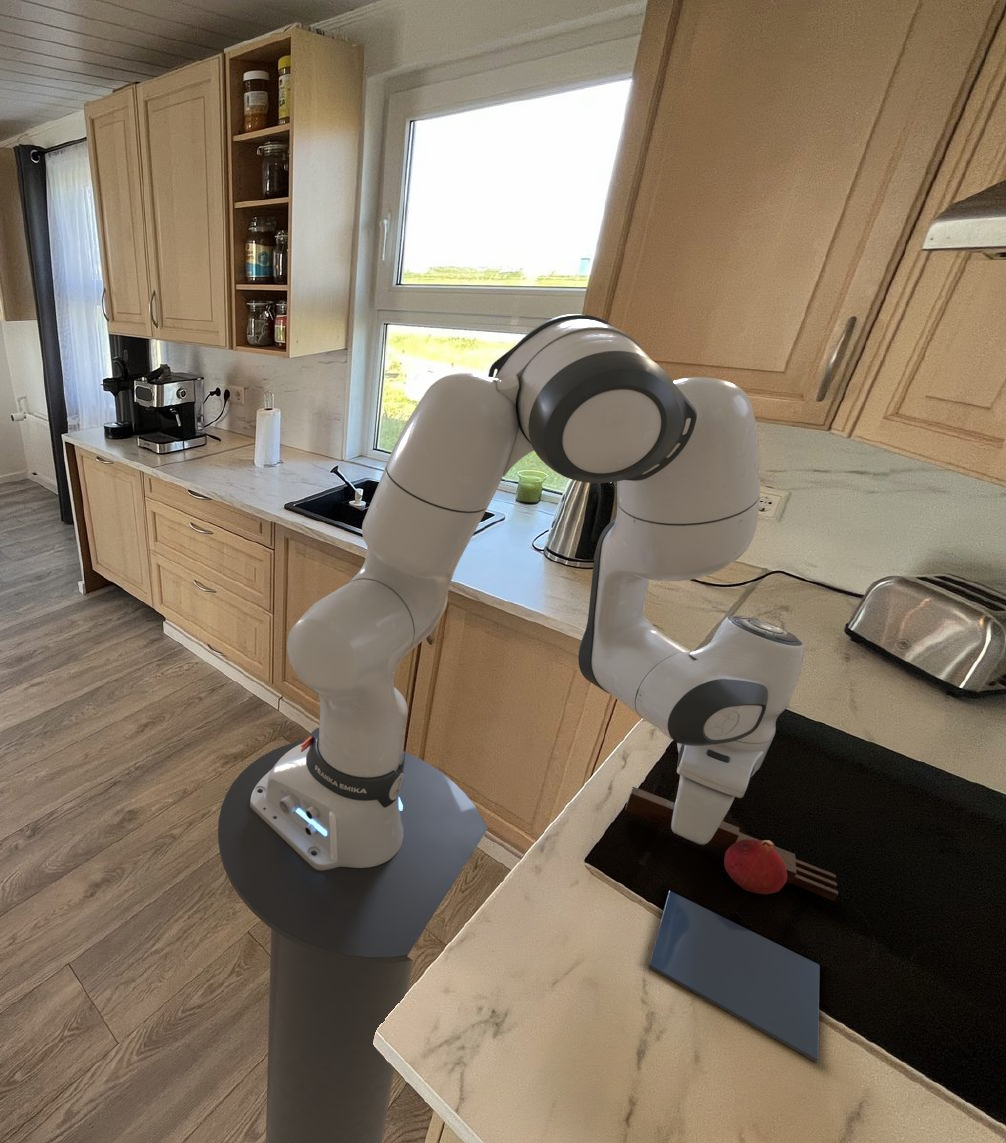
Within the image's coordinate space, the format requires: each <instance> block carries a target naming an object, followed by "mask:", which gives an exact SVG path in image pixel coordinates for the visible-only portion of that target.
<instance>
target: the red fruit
mask: <svg viewBox="0 0 1006 1143" xmlns="http://www.w3.org/2000/svg"><path fill="white" fill-rule="evenodd" d="M755 839H756V838H755ZM755 839H749V840H740V841H737V842H736V843H734V844H733V845H732V846H730V847H729V848H728V849H727V851H726V852H725V851H724V852H725V853H724V858H723V864H724V869H725V871H726V873H727V874H728V875H729V877H730V878H731V880H732V881H733V882H734V883H735V884H737V885H738V886H739V887H741V888H742V890H744V891H746V892H749V893H753V894H760V895H771V894H775V893H778V892H780V891H781V890H782V888H783V887H784V886H785V885H786V883H787V882H786V881H787V870H786V864H785V862H784V860H783V859H782V857H781V856H780V855H779V853H778V852H777V851H776V850H775V849H774V846H775V844H774V842H772V841H771V840H767V839H765V840H760V839H758V840H755ZM759 840H760V841H759Z"/></svg>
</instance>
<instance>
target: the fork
mask: <svg viewBox="0 0 1006 1143" xmlns="http://www.w3.org/2000/svg"><path fill="white" fill-rule="evenodd" d="M674 806H675V802H674V801H671V800H669V799H666V798H664V797H661V796H658V795H656V794H653V793H650V792H648V791H646V790H643V789H641V788H638V787H636V786H632V787H631V790H630V793H629V796H628V798H627V802H626V805H625V809H624V811H625V812H628V813H630V814H633V815H635V816H638V817H640V818H642V819H644V820H647V821H650V822H653V823H654V824H658V825H660V826H662V827H665V828H667V829H670V830H672V829H671V823H672V816H673V811H674ZM749 839H755V840H759V841H761V840H760V839H758V838H755V837H753V836H750V835H748V834H745V833H743V832H740V827H739V826H736V825H733V824H731V823H728V822H725V821H724V820H723V821H722V822H721V824H720V826H719V827H718V829H717V831H716V832H715V834H714V836H713V837H712V839H711V840H710V841H709V842H708V843H707V844H706V845H708V846H711V847H714V848H716V849H719V850H721V851H723V852H726V851H727V849H728V848H729V847H730V846H732V845H733V844H734V843H736V842H737V841H740V840H749ZM774 849H775V850H776V851H777V852H778V853H779V855H780V856H781V857H782V859H783V860H784V862H785V864H786V870H787V881H786V883H788V884H792V885H794V886H796V887H799V888H801V889H803V890H806V891H808V892H811V893H813V894H816V895H819V897H823V898H825V899H828V900H831V901H833V902H835V901H836V899H837V897H838V896H839V891H838V890H837V887H838V883H837V882H836V879H837V875H836V874H834V873H832V872H830V871H828V870H824V869H822V868H820V867H817V866H815V865H812V864H809V863H807V862H804V861H802V860H799V859H797V858H796V853H793V852H791V851H788V850H785V849H784V848H780V847H778V846H775V845H774Z"/></svg>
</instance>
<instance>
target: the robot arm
mask: <svg viewBox="0 0 1006 1143" xmlns="http://www.w3.org/2000/svg"><path fill="white" fill-rule="evenodd" d="M496 370H497V371H496ZM495 371H496V373H495ZM494 374H495V376H494ZM532 452H534V453H535V455H537V457H538V458H539V459H540V460H541V461H542V462H543V463H544V464H545V465H546V466H547V467H548V468H550V469H551V470H552V471H553V472H555V473H556V474H558V475H559V476H562V477H564V478H566V479H570V480H573V481H576V482H580V483H585V484H586V483H587V484H609V483H616V493H617V494H616V495H617V497H616V498H617V514H616V518H615V519H613V520H612V521H610V522H609V523H608V524H607V525H606V526H605V527H604V529H603V530H602V531H601V534H600V535H599V538H598V541H597V544H596V549H595V553H594V558H593V559H594V560H593V568H592V574H591V575H592V576H591V584H590V585H591V587H590V596H589V606H588V615H587V622H586V623H587V624H586V627H585V630H584V633H583V636H582V638H581V640H580V644H579V648H578V654H577V655H578V656H577V658H578V667H579V671H580V673H581V675H582V676H583V677H584V679H585V680H586V681H587V682H589V683H591V684H592V685H595V687H596V688H598V689H600V690H602V691H603V692H605V693H606V694H608V695H610V696H612V697H613V698H615V699H616V700H617V701H619V702H620V703H621V704H622V705H624V706H625V707H626V708H627V709H629V710H630V711H631V712H633V713H634V714H636V715H637V716H638V717H640V718H641V719H642V720H644V721H646V722H647V723H649V725H651V726H652V727H653V728H655V729H657V730H658V731H659V732H660V733H661V734H663V735H664V736H666V737H667V738H669V739H671V740H673V741H674V742H675V743H676V745H677V752H678V757H677V764H676V767H677V768H676V773H677V774H678V775H679V780H678V781H679V782H678V787H677V792H676V797H675V802H674V803H675V806H674V811H673V816H672V823H671V829H670V830H671V832H673V834H675V835H677V836H679V837H681V838H684V839H686V840H688V841H690V842H693V843H695V844H698V845H700V846H706V845H708V844H707V843H708V842H709V841H710V840H711V839H712V837H713V836H714V834H715V832H716V831H717V829H718V827H719V826H720V824H721V822H722V821H723V822H724V819H725V817H726V815H727V814H728V812H729V811H730V808H731V806H732V804H733V802H734V800H735V798H738V799H742V798H743V797H744V796H745V793H746V791H747V790H748V787H749V784H750V781H751V778H752V777H753V776H754V775H755V774H756V772H757V771H758V770H759V769H760V768H761V767H762V764H763V762H764V760H765V757H766V755H767V753H768V751H769V748H770V747H771V744H772V742H773V740H774V737H775V735H776V731H777V730H776V729H777V725H776V724H777V720H778V717H779V716H780V715H781V714H782V713H784V711H785V710H786V709H787V707H788V706H789V703H790V701H791V699H792V697H793V694H794V692H795V690H796V687H797V684H798V681H799V678H800V675H801V672H802V667H803V663H804V657H805V646H804V644H803V642H802V641H801V640H800V639H799V638H798V637H797V636H796V635H795V634H792V633H791V632H789V631H788V630H785V629H784V628H782V627H780V626H778V625H775V624H773V623H771V622H768V621H764V620H761V619H759V618H756V617H751V616H748V615H747V616H746V615H728V616H727V617H725V619H723V620H722V622H721V623H720V625H719V627H718V628H717V630H716V632H715V634H714V635H713V637H712V639H711V641H710V642H709V643H708V644H706V645H704V646H702V647H700V648H699V649H696V650H690V649H689V648H688V647H685V646H684V645H682V644H681V643H679V642H677V641H675V640H674V639H672V638H670V637H669V636H666V635H665V634H664V633H662V632H661V631H660V630H658V629H657V628H656V627H655V626H654V625H653V624H652V623H651V622H650V621H649V619H648V618H647V617H646V615H645V608H646V602H647V597H648V593H649V592H648V590H649V585H650V580H651V581H656V582H667V583H669V582H671V583H672V582H684V581H691V580H696V579H700V578H704V577H706V576H710V575H713V574H716V573H718V572H720V571H722V570H724V569H725V568H727V567H729V566H731V565H732V564H733V563H735V562H736V561H737V560H738V559H739V558H741V557H742V555H744V554H745V552H746V551H747V550H748V549H749V547H750V546H751V544H752V541H753V539H754V537H755V533H756V530H757V526H758V522H759V512H760V495H761V477H762V476H761V471H762V470H761V452H760V442H759V434H758V427H757V421H756V417H755V413H754V406H753V403H752V401H751V398H750V397H749V396H748V394H747V393H746V392H745V391H744V390H743V389H742V388H741V387H739V386H738V385H737V384H734V383H732V382H731V381H728V380H725V379H720V378H715V377H705V376H694V377H693V376H692V377H683V378H678V379H674V380H673V379H672V377H671V376H670V375H669V374H668V373H667V372H666V371H665V369H664V368H662V366H660V365H659V364H658V363H657V362H655V361H653V360H652V358H650V356H649V355H648V354H647V353H646V352H645V349H644V348H643V347H642V346H641V344H640V343H639V342H638V341H637V340H636V339H635V338H633V337H632V336H630V335H629V334H627V333H626V332H624V331H623V330H621V329H619V328H617V327H615V326H613V325H612V324H611V323H609V322H607V321H606V320H604V319H602V318H600V317H597V316H593V315H588V314H582V313H581V314H580V313H575V314H574V313H573V314H565V315H564V314H563V315H560V316H555V317H553V318H550V319H548V320H546V321H545V322H542V323H540V324H539V325H537V326H536V327H534V328H533V329H532V330H530V332H528V333H527V334H526V335H524V337H522V338H521V340H519V342H518V343H516V344H515V345H514V346H513V347H511V348H510V349H509V350H508V351H506V353H504V354H503V355H502V356H500V357H499V358H498V359H497V360H495V361H494V362H493V363H492V364H491V365H490V368H489V370H488V375H483V374H478V373H472V372H460V373H453V374H452V373H451V374H448V375H445V376H443V377H441V378H439V379H437V380H436V381H434V383H432V384H431V385H430V386H429V387H428V388H427V390H426V391H425V393H424V394H423V396H422V398H421V399H420V400H419V402H418V404H417V405H416V407H415V408H414V410H413V411H412V413H411V415H410V416H409V418H408V420H407V421H406V423H405V425H404V426H403V429H402V430H401V432H400V434H399V436H398V438H397V440H396V442H395V445H394V446H393V448H392V451H391V453H390V455H389V458H388V460H387V462H386V465H385V467H384V470H383V471H382V474H381V477H380V479H379V481H378V484H377V486H376V489H375V492H374V493H373V496H372V499H371V501H370V504H369V506H368V509H367V511H366V514H365V516H364V519H363V521H362V525H361V533H362V538H363V541H364V543H365V544H366V547H367V548H366V555H365V559H364V562H363V564H362V566H361V568H360V569H359V570H358V572H357V573H356V574H355V575H354V576H353V578H352V579H350V581H348V582H347V583H346V584H344V585H342V586H340V587H339V588H337V589H336V590H334V591H332V592H331V593H329V594H327V595H325V596H323V597H322V598H321V599H319V600H317V601H316V602H315V603H313V604H312V605H311V606H310V607H309V608H308V610H306V612H305V613H304V614H302V616H301V617H300V618H299V619H298V620H297V621H296V622H295V624H293V626H292V627H291V629H290V630H289V633H288V636H287V642H286V650H287V656H288V660H289V663H290V665H291V668H292V670H293V672H294V673H295V675H296V676H297V678H298V679H299V680H300V681H301V682H302V683H303V684H304V685H305V686H306V687H307V688H308V689H310V690H311V691H313V692H315V693H316V694H318V699H319V726H318V727H316V728H315V729H313V731H311V732H310V733H309V737H308V738H306V739H305V740H306V741H303V740H302V739H301V740H299V741H300V743H299V744H298V745H297V746H296V747H294V748H293V749H291V750H290V751H288V752H287V753H286V754H285V755H284V756H282V757H281V758H280V759H279V761H278V762H277V763H276V764H275V766H274V767H273V769H271V770H270V771H269V772H268V773H267V774H266V775H265V776H264V777H263V778H262V779H261V780H260V781H259V782H258V784H257V785H256V787H255V788H254V790H253V792H252V795H251V801H250V807H251V808H252V809H253V810H254V811H255V812H256V813H257V814H258V815H259V816H260V817H261V818H262V819H263V820H264V821H265V822H266V823H267V824H268V825H269V826H270V827H271V828H272V829H273V830H274V831H275V832H276V833H278V834H279V835H280V836H281V837H282V838H283V839H284V840H285V841H286V842H287V843H288V844H289V845H290V846H291V847H292V848H293V849H294V850H295V851H296V852H297V853H298V854H299V855H300V856H301V857H303V858H304V859H305V860H306V861H307V862H308V863H309V864H310V865H311V866H312V867H313V868H314V869H316V870H329V869H333V868H336V867H351V868H368V867H374V866H377V865H380V864H383V863H385V862H387V861H388V860H390V859H391V858H392V857H394V856H395V855H396V853H397V852H398V851H399V849H400V848H401V845H402V842H403V837H404V831H403V826H402V822H401V818H400V811H402V809H403V805H402V803H401V800H400V798H399V794H400V791H401V788H402V783H403V777H404V774H403V772H404V762H405V753H404V752H405V750H404V745H405V736H406V728H407V723H408V721H407V720H408V713H409V709H408V708H409V707H408V704H407V701H406V699H405V697H404V695H403V694H402V692H400V691H399V690H398V688H396V687H395V675H396V672H397V670H398V668H399V665H400V664H401V663H402V660H403V659H404V658H405V657H406V656H407V655H408V654H409V653H410V652H412V651H413V650H414V649H415V648H416V647H418V646H419V644H421V643H422V642H423V641H424V640H426V639H427V638H428V637H429V636H430V635H431V634H432V632H433V631H434V630H435V628H436V627H437V626H438V623H439V622H440V620H441V618H442V617H443V615H444V613H445V611H446V609H447V605H448V599H449V598H448V597H449V596H448V594H449V591H450V587H451V583H452V580H453V577H454V575H455V574H454V573H455V572H456V569H457V566H458V565H459V562H460V561H461V558H462V556H463V555H464V552H465V551H466V548H467V547H468V545H469V544H470V541H471V540H472V538H473V536H474V534H475V531H476V530H477V529H478V527H479V525H480V522H481V521H482V520H483V517H484V515H485V513H486V511H487V510H488V508H489V506H490V504H491V502H492V500H493V498H494V496H495V494H496V492H497V490H498V488H499V486H500V484H501V481H502V479H503V477H505V476H506V475H507V474H508V472H509V471H510V470H511V469H512V467H514V466H515V465H516V464H517V463H518V462H519V461H520V460H521V459H523V458H524V457H526V456H527V455H529V454H531V453H532ZM399 809H400V810H399ZM312 854H315V856H313V855H312Z"/></svg>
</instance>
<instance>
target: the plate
mask: <svg viewBox="0 0 1006 1143" xmlns="http://www.w3.org/2000/svg"><path fill="white" fill-rule="evenodd" d="M648 968H649V969H651V970H653V971H655V972H656V973H658V974H660V975H661V976H663V977H665V978H666V979H668V980H670V981H672V982H673V983H675V984H677V985H678V986H680V987H682V988H684V989H685V990H688V991H690V992H691V993H693V994H695V995H697V996H699V997H700V998H702V999H704V1000H705V1001H707V1002H709V1003H711V1004H713V1005H714V1006H716V1007H718V1008H720V1009H722V1011H725V1012H727V1013H729V1014H730V1015H732V1016H734V1017H735V1018H736V1019H739V1020H741V1021H742V1022H744V1023H746V1024H747V1025H750V1026H751V1027H753V1028H755V1029H757V1030H758V1031H760V1032H761V1033H764V1034H765V1035H767V1036H769V1037H771V1038H772V1039H774V1040H776V1041H777V1042H779V1043H781V1044H782V1045H784V1046H786V1047H788V1048H790V1049H792V1050H793V1051H795V1052H797V1053H799V1054H801V1055H802V1056H804V1057H806V1058H808V1059H809V1060H811V1061H812V1062H815V1063H817V1062H818V1061H819V1042H820V1040H819V1039H820V1037H819V1036H820V1035H819V1034H820V974H821V972H820V970H821V969H820V968H821V965H820V964H819V963H817V962H814V961H813V960H812V959H809V958H807V957H804V956H803V955H801V954H798V953H796V952H794V951H792V950H790V949H788V948H787V947H784V946H783V945H780V944H778V943H776V942H774V941H773V940H770V939H768V938H766V937H764V936H762V935H761V934H758V933H756V932H754V931H752V930H750V929H748V928H746V927H744V926H742V925H740V924H739V923H736V922H734V921H732V920H730V919H728V918H726V917H723V916H722V915H719V914H718V913H717V912H716V913H715V912H713V911H712V910H710V909H708V908H705V906H704V907H703V906H702V905H699V904H698V903H696V902H694V901H691V900H689V899H687V898H686V897H683V896H681V895H679V894H677V893H675V892H673V891H672V890H668V893H667V895H666V900H665V904H664V907H663V912H662V915H661V919H660V923H659V926H658V930H657V933H656V936H655V941H654V945H653V949H652V952H651V956H650V960H649V963H648Z"/></svg>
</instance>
